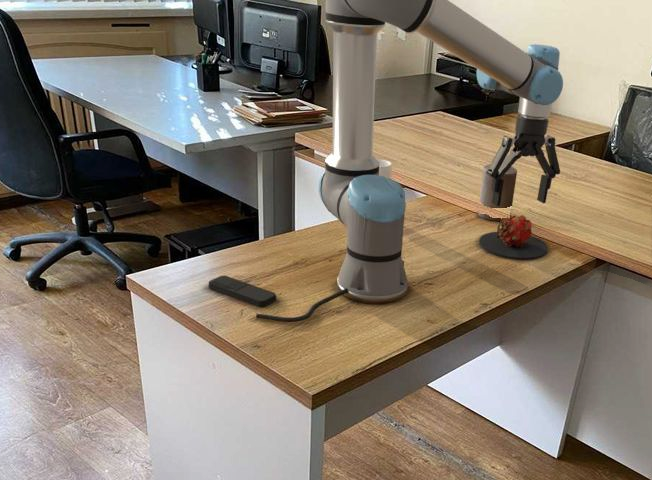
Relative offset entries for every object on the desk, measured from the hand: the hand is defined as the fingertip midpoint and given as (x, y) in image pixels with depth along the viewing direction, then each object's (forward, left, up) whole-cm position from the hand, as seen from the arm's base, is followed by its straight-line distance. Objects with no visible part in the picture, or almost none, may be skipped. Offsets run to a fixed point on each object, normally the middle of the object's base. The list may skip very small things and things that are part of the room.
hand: (518, 202), depth 176 cm
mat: (0, 0, -12) cm, 12 cm away
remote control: (-72, -9, -12) cm, 73 cm away
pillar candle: (+7, +22, -12) cm, 26 cm away
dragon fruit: (0, 0, -11) cm, 11 cm away
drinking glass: (-27, +28, -12) cm, 40 cm away
